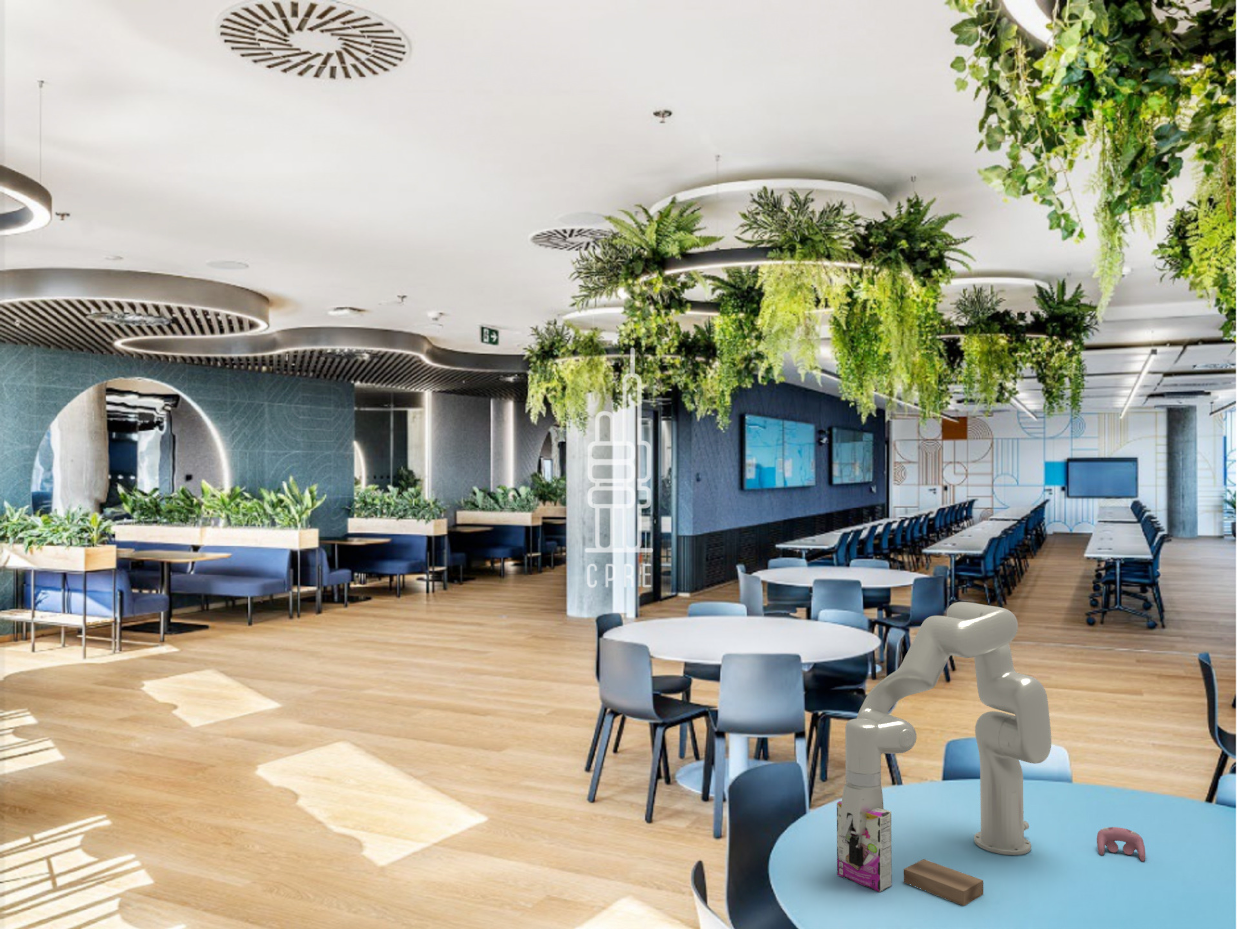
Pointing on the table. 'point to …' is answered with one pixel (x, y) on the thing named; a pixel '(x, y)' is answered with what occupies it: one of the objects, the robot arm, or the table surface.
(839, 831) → the candy bar box
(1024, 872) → the table surface
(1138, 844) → the video game controller
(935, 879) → the walnut base
